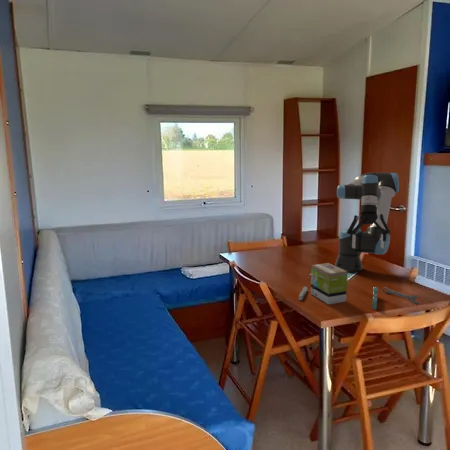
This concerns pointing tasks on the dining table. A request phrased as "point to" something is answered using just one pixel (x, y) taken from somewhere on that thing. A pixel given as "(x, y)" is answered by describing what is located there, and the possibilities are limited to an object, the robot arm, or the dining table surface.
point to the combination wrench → (401, 295)
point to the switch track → (374, 305)
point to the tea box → (328, 283)
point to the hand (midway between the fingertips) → (367, 248)
